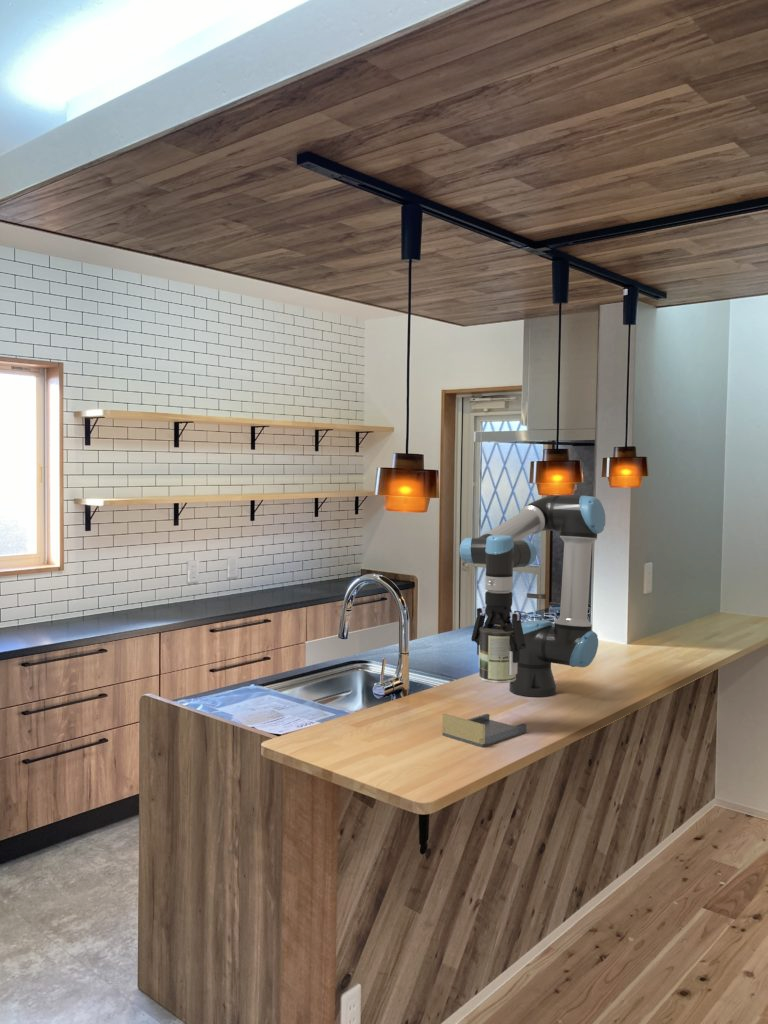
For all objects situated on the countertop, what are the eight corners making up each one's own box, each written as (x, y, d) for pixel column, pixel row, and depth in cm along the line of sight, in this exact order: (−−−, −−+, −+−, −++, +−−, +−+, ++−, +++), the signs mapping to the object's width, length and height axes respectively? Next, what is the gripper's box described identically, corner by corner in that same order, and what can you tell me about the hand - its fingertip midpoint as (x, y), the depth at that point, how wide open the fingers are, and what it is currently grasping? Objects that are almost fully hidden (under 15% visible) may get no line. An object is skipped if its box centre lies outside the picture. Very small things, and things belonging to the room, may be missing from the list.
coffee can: (471, 679, 237) (472, 628, 237) (491, 672, 245) (492, 624, 244) (503, 685, 231) (504, 633, 230) (523, 678, 239) (523, 628, 238)
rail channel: (486, 721, 246) (486, 701, 246) (526, 732, 236) (526, 711, 236) (442, 735, 233) (442, 714, 233) (482, 747, 223) (482, 725, 223)
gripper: (459, 588, 242) (458, 665, 243) (523, 596, 226) (522, 680, 227) (476, 586, 248) (475, 662, 249) (540, 594, 231) (539, 675, 232)
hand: (497, 670), depth 238 cm, fingers closed on coffee can, 10 cm apart
